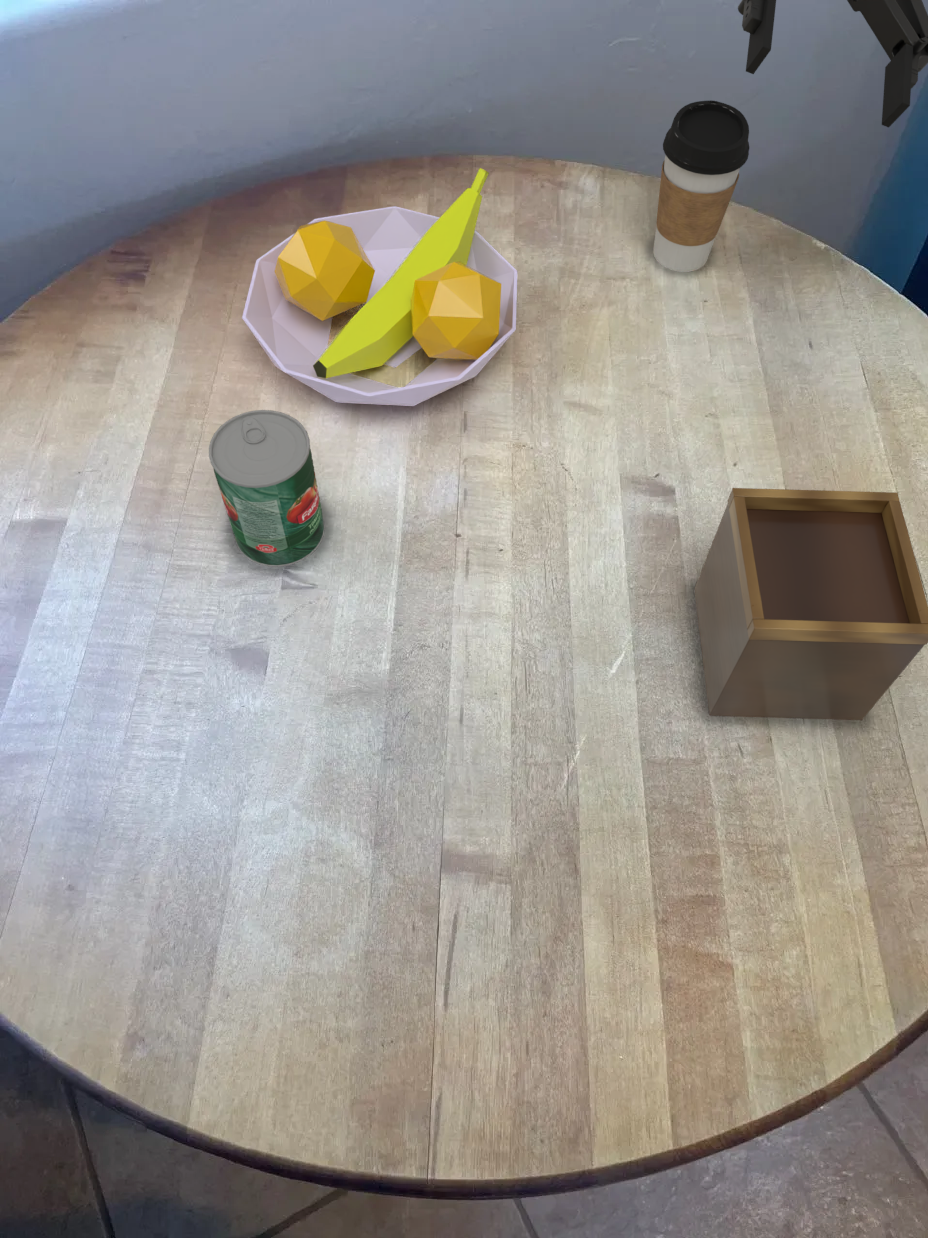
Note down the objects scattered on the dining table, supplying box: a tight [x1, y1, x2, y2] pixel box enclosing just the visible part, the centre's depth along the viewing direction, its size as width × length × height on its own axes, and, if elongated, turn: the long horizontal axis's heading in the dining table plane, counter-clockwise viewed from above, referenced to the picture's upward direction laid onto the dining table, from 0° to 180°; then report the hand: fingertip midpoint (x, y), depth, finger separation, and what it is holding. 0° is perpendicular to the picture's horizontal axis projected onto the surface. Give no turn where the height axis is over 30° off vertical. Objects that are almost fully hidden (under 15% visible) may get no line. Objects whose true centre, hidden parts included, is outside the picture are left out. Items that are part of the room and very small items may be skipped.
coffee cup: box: [652, 99, 750, 273], centre depth 99 cm, size 8×8×15 cm
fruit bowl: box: [241, 167, 518, 407], centre depth 93 cm, size 28×27×11 cm
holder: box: [693, 487, 928, 721], centre depth 73 cm, size 12×12×14 cm
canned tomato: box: [208, 409, 326, 568], centre depth 80 cm, size 8×8×11 cm
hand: (827, 88), depth 83 cm, fingers open, 13 cm apart
